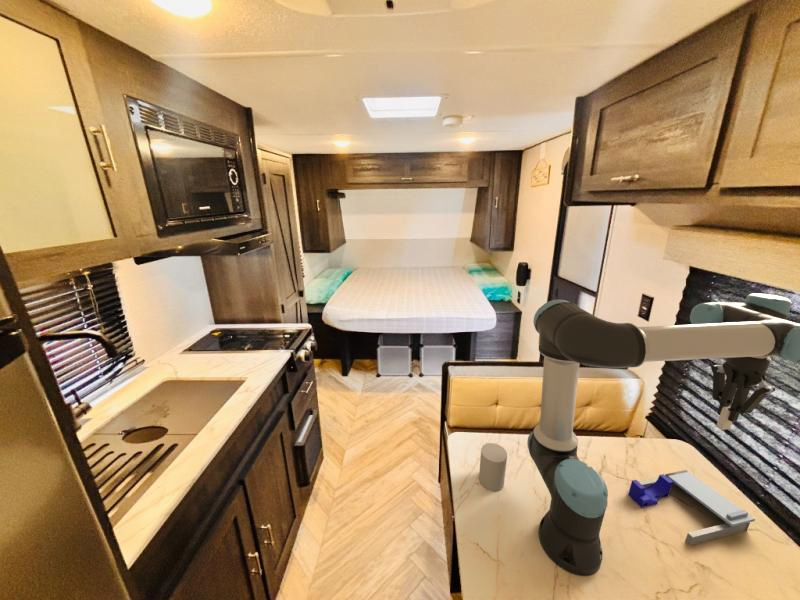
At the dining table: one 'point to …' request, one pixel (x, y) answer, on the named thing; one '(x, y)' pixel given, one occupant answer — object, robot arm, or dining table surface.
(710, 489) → the cover
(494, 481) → the gray solid cylinder
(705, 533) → the gray u-shaped frame
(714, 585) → the dining table surface
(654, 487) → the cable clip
